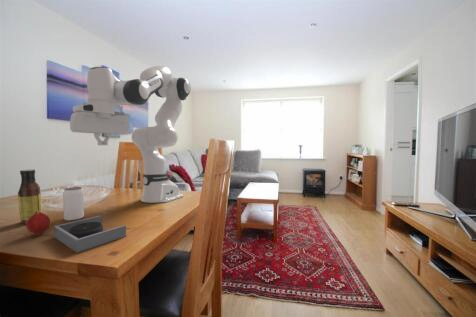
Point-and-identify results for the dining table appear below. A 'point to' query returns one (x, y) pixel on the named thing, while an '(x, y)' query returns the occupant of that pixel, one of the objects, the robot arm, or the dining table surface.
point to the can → (73, 203)
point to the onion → (38, 223)
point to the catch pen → (89, 241)
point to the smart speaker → (86, 229)
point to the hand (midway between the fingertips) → (102, 145)
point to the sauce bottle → (29, 195)
